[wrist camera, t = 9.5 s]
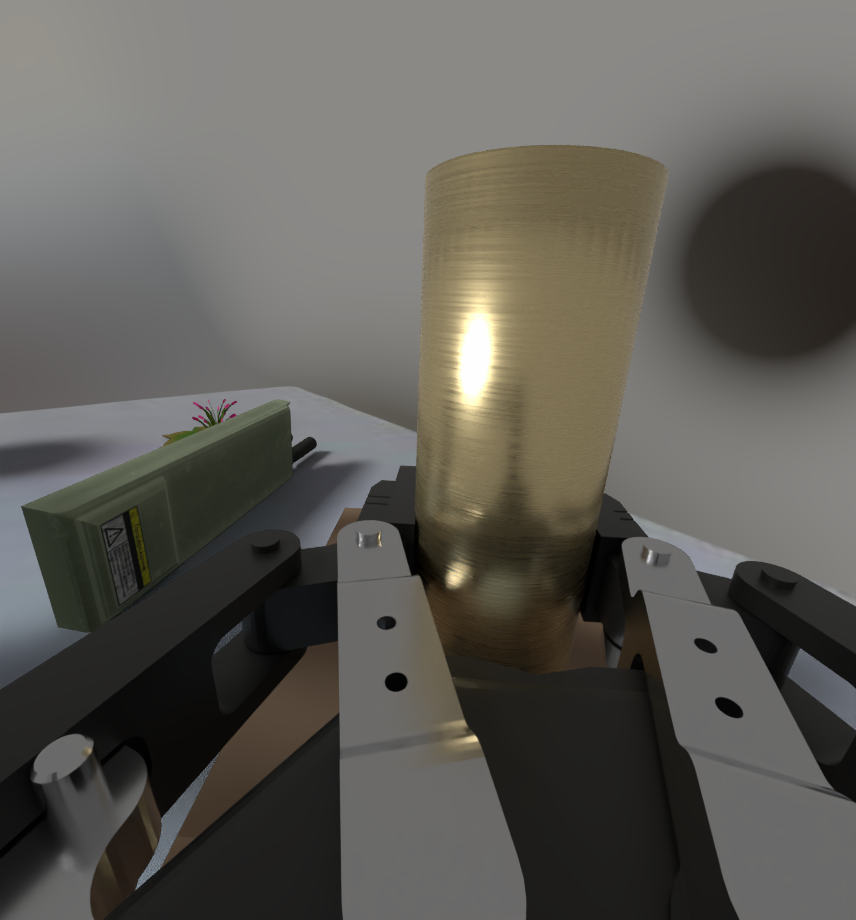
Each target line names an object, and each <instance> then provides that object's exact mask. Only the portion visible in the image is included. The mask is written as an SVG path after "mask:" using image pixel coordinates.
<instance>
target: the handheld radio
mask: <svg viewBox="0 0 856 920" xmlns="http://www.w3.org/2000/svg"><path fill="white" fill-rule="evenodd" d="M289 404H290V402H289V401H284V400H279V399H278V400H274V401H271V402H269V403H266V404H264V405H261V406H259V407H257V408H254V409H252V410H250V411H247V412H245V413H242V414H240V415H238V416H235V417H233V418H230V419H228V420H226V421H223V422H221V423H219V424H216V425H214V426H211V427H209V428H207V429H204V430H202V431H200V432H197V433H195V434H192V435H190V436H188V437H185V438H183V439H180V440H178V441H176V442H173V443H171V444H169V445H166V446H164V447H161V448H159V449H157V450H154V451H152V452H149V453H147V454H145V455H142V456H140V457H138V458H135V459H133V460H130V461H128V462H126V463H123V464H121V465H118V466H116V467H114V468H111V469H109V470H107V471H104V472H102V473H99V474H97V475H95V476H92V477H90V478H88V479H85V480H83V481H80V482H78V483H76V484H73V485H71V486H68V487H66V488H64V489H61V490H59V491H57V492H54V493H52V494H49V495H47V496H45V497H42V498H40V499H37V500H35V501H33V502H30V503H28V504H26V505H23V506H21V507H22V511H23V514H24V517H25V520H26V524H27V527H28V530H29V533H30V537H31V540H32V543H33V547H34V550H35V553H36V556H37V560H38V563H39V566H40V569H41V573H42V576H43V579H44V583H45V586H46V589H47V592H48V596H49V599H50V602H51V605H52V609H53V612H54V615H55V618H56V622H57V625H58V627H60V628H65V629H70V630H76V631H81V632H93V631H95V630H96V629H98V628H99V627H101V626H103V625H104V624H106V623H107V622H109V621H110V620H112V619H113V618H114V617H116V616H117V615H118V614H119V613H121V612H122V611H123V610H124V609H126V608H127V607H128V606H129V605H131V604H132V603H133V602H135V601H136V600H137V599H138V598H140V597H141V596H142V595H143V594H145V593H146V592H147V591H148V590H150V589H151V588H152V587H154V586H155V585H156V584H157V583H159V582H160V581H161V580H162V579H164V578H165V577H166V576H167V575H169V574H170V573H171V572H173V571H174V570H175V569H176V568H178V567H179V566H180V565H181V564H183V563H184V562H185V561H186V560H188V559H189V558H190V557H192V556H193V555H194V554H195V553H197V552H198V551H199V550H200V549H202V548H203V547H204V546H205V545H207V544H208V543H209V542H211V541H212V540H213V539H214V538H216V537H217V536H218V535H219V534H221V533H222V532H223V531H224V530H226V529H227V528H228V527H230V526H231V525H232V524H233V523H235V522H236V521H237V520H238V519H240V518H241V517H242V516H243V515H245V514H246V513H247V512H249V511H250V510H251V509H252V508H254V507H255V506H256V505H257V504H259V503H260V502H261V501H262V500H264V499H265V498H266V497H268V496H269V495H270V494H271V493H273V492H274V491H275V490H276V489H278V488H279V487H280V486H281V485H283V484H284V483H285V482H287V481H288V480H289V479H290V478H291V477H292V475H293V467H292V464H293V463H294V462H296V461H297V460H299V459H300V458H302V457H303V456H304V455H306V454H307V453H309V452H310V451H311V450H313V449H314V448H315V447H316V445H317V443H316V440H315V439H314V438H312V437H307V438H306V439H304V440H303V441H301V442H300V443H298V444H297V445H295V446H294V447H292V439H293V436H292V434H291V416H290V409H289V407H288V405H289Z"/></svg>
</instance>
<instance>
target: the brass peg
mask: <svg viewBox="0 0 856 920" xmlns="http://www.w3.org/2000/svg"><path fill="white" fill-rule="evenodd" d="M667 180H668V171H667V169H666V167H665V166H664V165H662V164H661V163H660V162H658V161H655V160H654V159H651V158H649V157H646V156H643V155H640V154H636V153H632V152H627V151H623V150H616V149H610V148H601V147H591V146H575V145H541V146H540V145H538V146H520V147H508V148H500V149H493V150H486V151H481V152H475V153H471V154H467V155H463V156H459V157H456V158H453V159H450V160H447V161H445V162H443V163H441V164H438V165H437V166H435V167H433V168H432V169H431V170H430V171H429V172H428V173H427V175H426V177H425V207H424V211H425V212H424V239H423V271H422V303H421V334H420V364H419V395H418V427H417V458H416V489H415V514H416V528H415V559H414V575H419V576H420V578H421V581H422V584H423V587H424V591H425V594H426V597H427V600H428V603H429V607H430V610H431V613H432V616H433V620H434V623H435V626H436V629H437V632H438V636H439V639H440V642H441V645H442V648H443V652H444V655H445V656H457V657H471V658H478V659H481V660H485V661H488V662H492V663H495V664H499V665H503V666H506V667H510V668H513V669H517V670H520V671H524V672H527V673H532V674H546V673H552V672H559V671H566V670H568V667H569V662H570V657H571V652H572V647H573V642H574V637H575V632H576V627H577V622H578V617H579V612H580V608H581V603H582V598H583V593H584V588H585V583H586V578H587V573H588V568H589V563H590V558H591V554H592V549H593V544H594V539H595V534H596V529H597V524H598V519H599V514H600V509H601V504H602V499H603V495H604V490H605V485H606V480H607V475H608V470H609V465H610V460H611V455H612V450H613V445H614V441H615V436H616V431H617V426H618V421H619V416H620V411H621V406H622V401H623V396H624V391H625V387H626V382H627V377H628V372H629V367H630V362H631V357H632V352H633V347H634V342H635V337H636V332H637V327H638V323H639V318H640V313H641V308H642V303H643V298H644V293H645V288H646V283H647V278H648V273H649V268H650V264H651V258H652V254H653V249H654V244H655V239H656V234H657V229H658V224H659V219H660V215H661V210H662V205H663V200H664V195H665V190H666V185H667Z"/></svg>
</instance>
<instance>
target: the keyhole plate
mask: <svg viewBox="0 0 856 920" xmlns="http://www.w3.org/2000/svg"><path fill="white" fill-rule="evenodd" d="M361 510H362V509H360V508H345V509H344V511H343V513H342V515H341V517H340V519H339V521H338V523H337V524H336V526H335V528H334V530H333V532H332V534H331V536H330V538H329V540H328V542H327V544H326V546H328V545H332V544H335V543H337V535H338V533H339V531H340V530H341V529H342V528H343V527H345V526H347V525H349V524H351V523H354V522H357V520H358V517H359V515H360V513H361ZM602 628H603V625H602V623H598V622H584V621H583V619H582V617H581V614H580V612H579V617H578V622H577V627H576V632H575V637H574V642H573V647H572V652H571V657H570V662H569V667H568V670H572V669H579V668H586V667H601V661H600V646H599V642H600V637H601V632H602ZM338 713H339V652H338V641H336V642H331V643H325V644H320V645H315V646H309V647H307V651H306V653H305V654H304V656H303V657H302V658H301V660H300V661H299V662H298V663H297V664H296V665H295V666H294V668H293V669H292V670H291V671H290V672H289V673H288V674H287V675H286V677H285V678H284V679H283V680H282V681H281V682H280V683H279V685H278V686H277V687H276V688H275V689H274V690H273V691H272V693H271V694H270V695H269V696H268V697H267V698H266V699H265V701H264V702H263V703H262V704H261V705H260V706H259V707H258V708H257V710H256V711H255V712H254V713H253V714H252V715H251V716H250V718H249V719H248V720H247V721H246V722H245V723H244V724H243V726H242V727H241V728H240V729H239V730H238V731H237V732H236V734H235V735H234V736H233V737H232V738H231V739H230V740H229V741H228V743H227V744H226V745H225V746H224V747H223V748H222V749H221V751H220V753H219V755H218V757H217V759H216V761H215V763H214V765H213V767H212V769H211V771H210V773H209V775H208V777H207V778H206V780H205V782H204V784H203V786H202V788H201V790H200V792H199V794H198V796H197V798H196V800H195V802H194V804H193V806H192V808H191V810H190V812H189V814H188V816H187V818H186V820H185V821H184V823H183V825H182V827H181V829H180V831H179V833H178V835H177V837H176V839H175V841H174V843H173V845H172V847H171V849H170V851H169V853H168V855H167V857H166V859H165V861H164V863H163V864H162V866H161V868H162V867H163V866H164V865H165V864H166V863H168V862H169V861H170V860H171V859H172V858H173V857H174V856H176V855H177V854H178V853H179V852H180V851H181V850H182V849H184V848H185V847H186V846H187V845H188V844H189V843H190V842H192V841H193V840H194V839H195V838H196V837H197V836H198V835H200V834H201V833H202V832H203V831H204V830H205V829H206V828H208V827H209V826H210V825H211V824H212V823H213V822H214V821H215V820H217V819H218V818H219V817H220V816H221V815H222V814H223V813H225V812H226V811H227V810H228V809H229V808H230V807H231V806H233V805H234V804H235V803H236V802H237V801H238V800H239V799H241V798H242V797H243V796H244V795H245V794H246V793H247V792H249V791H250V790H251V789H252V788H253V787H254V786H255V785H257V784H258V783H259V782H260V781H261V780H262V779H263V778H265V777H266V776H267V775H268V774H269V773H270V772H271V771H273V770H274V769H275V768H276V767H277V766H278V765H279V764H281V763H282V762H283V761H284V760H285V759H286V758H287V757H289V756H290V755H291V754H292V753H293V752H294V751H295V750H297V749H298V748H299V747H300V746H301V745H302V744H303V743H305V742H306V741H307V740H308V739H309V738H310V737H311V736H313V735H314V734H315V733H316V732H317V731H318V730H319V729H321V728H322V727H323V726H324V725H325V724H326V723H327V722H329V721H330V720H331V719H332V718H333V717H334V716H335V715H337V714H338ZM161 868H160V869H161Z"/></svg>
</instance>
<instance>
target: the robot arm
mask: <svg viewBox="0 0 856 920" xmlns="http://www.w3.org/2000/svg"><path fill="white" fill-rule="evenodd" d="M415 489H416V466H400V469H399V472H398V475H397V478H396V481H387V480H381V481H380V482H378V483H377V484H375V485H374V486H372V487H371V490H370V492H369V494H368V497H367V499H366V501H365V504H364V506H363V508H362V510H361V513H360V515H359V517H358V520H357V522H354V523H351V524H349V525H347V526H345V527H343V528H342V529H341V530H340V531H339V533H338V535H337V543H335V544H332V545H328V546H323V547H315V548H307V549H301V547H300V540H299V538H298V537H297V536H296V535H295V534H293V533H291V532H288V531H283V530H266V531H260V532H256V533H253V534H250V535H247V536H245V537H243V538H241V539H240V540H238V541H236V542H235V543H233V544H232V545H230V546H228V547H227V548H225V549H224V550H222V551H220V552H219V553H217V554H216V555H214V556H213V557H211V558H209V559H208V560H206V561H205V562H203V563H201V564H200V565H198V566H197V567H195V568H193V569H192V570H190V571H189V572H187V573H185V574H184V575H182V576H181V577H179V578H178V579H176V580H174V581H173V582H171V583H170V584H168V585H166V586H165V587H163V588H162V589H160V590H158V591H157V592H155V593H154V594H152V595H150V596H149V597H147V598H146V599H144V600H142V601H141V602H139V603H138V604H136V605H135V606H133V607H131V608H130V609H128V610H127V611H125V612H123V613H122V614H120V615H119V616H117V617H115V618H114V619H112V620H111V621H109V622H107V623H106V624H104V625H103V626H101V627H99V628H98V629H96V630H95V631H93V632H92V633H90V634H88V635H87V636H85V637H84V638H82V639H80V640H79V641H77V642H76V643H74V644H72V645H71V646H69V647H68V648H66V649H64V650H63V651H61V652H60V653H58V654H56V655H55V656H53V657H52V658H50V659H49V660H47V661H45V662H44V663H42V664H41V665H39V666H37V667H36V668H34V669H33V670H31V671H29V672H28V673H26V674H25V675H23V676H21V677H20V678H18V679H17V680H15V681H14V682H12V683H10V684H9V685H7V686H6V687H4V688H2V689H1V690H0V920H856V730H855V729H853V728H852V727H851V726H849V725H848V724H847V723H846V722H844V721H843V720H842V719H841V718H839V717H838V716H837V715H835V714H834V713H833V712H832V711H830V710H829V709H828V708H827V707H825V706H824V705H823V704H822V703H820V702H819V701H818V700H816V699H815V698H814V697H813V696H811V695H810V694H809V693H808V692H806V691H805V690H804V689H802V688H801V687H800V686H799V685H797V684H796V683H795V682H794V681H792V680H791V679H790V678H788V677H787V676H788V674H789V671H790V669H791V667H792V665H793V662H794V660H795V658H796V656H797V654H798V651H799V649H800V648H801V649H803V650H804V651H805V652H807V653H808V654H810V655H811V656H812V657H814V658H815V659H817V660H818V661H819V662H821V663H822V664H824V665H825V666H827V667H828V668H829V669H831V670H832V671H834V672H835V673H836V674H838V675H839V676H841V677H842V678H843V679H845V680H846V681H848V682H849V683H850V684H851V685H853V686H854V687H855V688H856V606H854V605H852V604H850V603H849V602H847V601H845V600H843V599H841V598H840V597H838V596H836V595H834V594H833V593H831V592H829V591H827V590H825V589H824V588H822V587H820V586H818V585H817V584H815V583H813V582H811V581H810V580H808V579H806V578H804V577H802V576H801V575H798V574H797V573H795V572H792V571H790V570H788V569H785V568H782V567H779V566H776V565H773V564H769V563H764V562H758V561H745V562H741V563H739V564H738V565H737V566H736V568H735V571H734V574H733V577H732V579H729V578H725V577H721V576H716V575H712V574H708V573H703V572H700V571H696V569H695V567H694V565H693V563H692V561H691V559H690V557H689V556H688V555H687V554H686V553H685V552H684V551H682V550H681V549H679V548H677V547H676V546H674V545H672V544H669V543H667V542H664V541H661V540H657V539H653V538H649V537H648V536H647V535H646V534H645V532H644V531H643V530H642V529H641V528H640V526H639V525H638V524H637V523H636V522H635V521H633V518H632V517H631V515H630V514H629V513H627V511H626V509H625V508H624V507H623V506H622V504H621V503H620V502H619V501H617V500H615V499H614V498H612V497H610V496H608V495H607V494H604V495H603V499H602V504H601V509H600V514H599V519H598V524H597V529H596V534H595V539H594V544H593V549H592V554H591V558H590V563H589V568H588V573H587V578H586V583H585V588H584V593H583V598H582V603H581V608H580V614H581V617H582V619H583V621H584V622H598V623H602V625H603V628H602V632H601V637H600V642H599V646H600V661H601V667H586V668H579V669H572V670H566V671H559V672H552V673H546V674H532V673H527V672H524V671H520V670H517V669H513V668H510V667H506V666H503V665H499V664H495V663H492V662H488V661H485V660H481V659H478V658H471V657H457V656H445V655H444V652H443V648H442V645H441V642H440V639H439V636H438V632H437V629H436V626H435V623H434V620H433V616H432V613H431V610H430V607H429V603H428V600H427V597H426V594H425V591H424V587H423V584H422V581H421V578H420V576H419V575H414V559H415V528H416V514H415ZM241 621H242V627H243V630H242V631H241V632H240V633H239V634H237V635H236V636H235V637H234V638H233V639H232V640H231V641H230V642H228V643H227V644H226V645H225V646H224V647H223V648H222V649H220V650H219V651H218V652H217V653H216V654H215V655H214V656H213V653H214V650H215V648H216V646H217V644H218V643H219V641H220V640H221V639H222V638H223V636H225V635H226V634H227V633H228V632H229V631H230V630H231V629H233V628H234V627H235V626H236V625H237V624H238V623H240V622H241ZM336 641H338V652H339V713H338V714H337V715H335V716H334V717H333V718H332V719H331V720H330V721H329V722H327V723H326V724H325V725H324V726H323V727H322V728H321V729H319V730H318V731H317V732H316V733H315V734H314V735H313V736H311V737H310V738H309V739H308V740H307V741H306V742H305V743H303V744H302V745H301V746H300V747H299V748H298V749H297V750H295V751H294V752H293V753H292V754H291V755H290V756H289V757H287V758H286V759H285V760H284V761H283V762H282V763H281V764H279V765H278V766H277V767H276V768H275V769H274V770H273V771H271V772H270V773H269V774H268V775H267V776H266V777H265V778H263V779H262V780H261V781H260V782H259V783H258V784H257V785H255V786H254V787H253V788H252V789H251V790H250V791H249V792H247V793H246V794H245V795H244V796H243V797H242V798H241V799H239V800H238V801H237V802H236V803H235V804H234V805H233V806H231V807H230V808H229V809H228V810H227V811H226V812H225V813H223V814H222V815H221V816H220V817H219V818H218V819H217V820H215V821H214V822H213V823H212V824H211V825H210V826H209V827H208V828H206V829H205V830H204V831H203V832H202V833H201V834H200V835H198V836H197V837H196V838H195V839H194V840H193V841H192V842H190V843H189V844H188V845H187V846H186V847H185V848H184V849H182V850H181V851H180V852H179V853H178V854H177V855H176V856H174V857H173V858H172V859H171V860H170V861H169V862H168V863H166V864H165V865H164V866H163V867H162V868H161V869H160V870H158V871H157V872H156V873H155V874H154V875H153V876H152V877H150V878H149V879H148V880H147V881H146V882H145V883H144V884H142V885H141V886H140V887H139V888H138V889H137V890H136V891H135V889H136V886H137V883H138V879H139V878H140V876H141V875H142V873H143V872H144V870H145V869H146V867H147V866H148V864H149V862H150V861H151V859H152V857H153V855H154V853H155V850H156V848H157V845H158V842H159V839H160V835H161V818H162V817H163V815H164V814H165V813H166V812H167V811H168V810H169V809H170V808H171V806H172V805H173V804H174V803H175V802H176V801H177V800H178V798H179V797H180V796H181V795H182V794H183V793H184V792H185V790H186V789H187V788H188V787H189V786H190V785H191V784H192V782H193V781H194V780H195V779H196V778H197V777H198V776H199V775H200V773H201V772H202V771H203V770H204V769H205V768H206V767H207V765H208V764H209V763H210V762H211V761H212V760H213V759H214V757H215V756H216V755H217V754H218V753H219V752H220V751H221V749H222V748H223V747H224V746H225V745H226V744H227V743H228V741H229V740H230V739H231V738H232V737H233V736H234V735H235V734H236V732H237V731H238V730H239V729H240V728H241V727H242V726H243V724H244V723H245V722H246V721H247V720H248V719H249V718H250V716H251V715H252V714H253V713H254V712H255V711H256V710H257V708H258V707H259V706H260V705H261V704H262V703H263V702H264V701H265V699H266V698H267V697H268V696H269V695H270V694H271V693H272V691H273V690H274V689H275V688H276V687H277V686H278V685H279V683H280V682H281V681H282V680H283V679H284V678H285V677H286V675H287V674H288V673H289V672H290V671H291V670H292V669H293V668H294V666H295V665H296V664H297V663H298V662H299V661H300V660H301V658H302V657H303V656H304V654H305V653H306V651H307V647H309V646H315V645H320V644H325V643H331V642H336Z"/></svg>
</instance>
